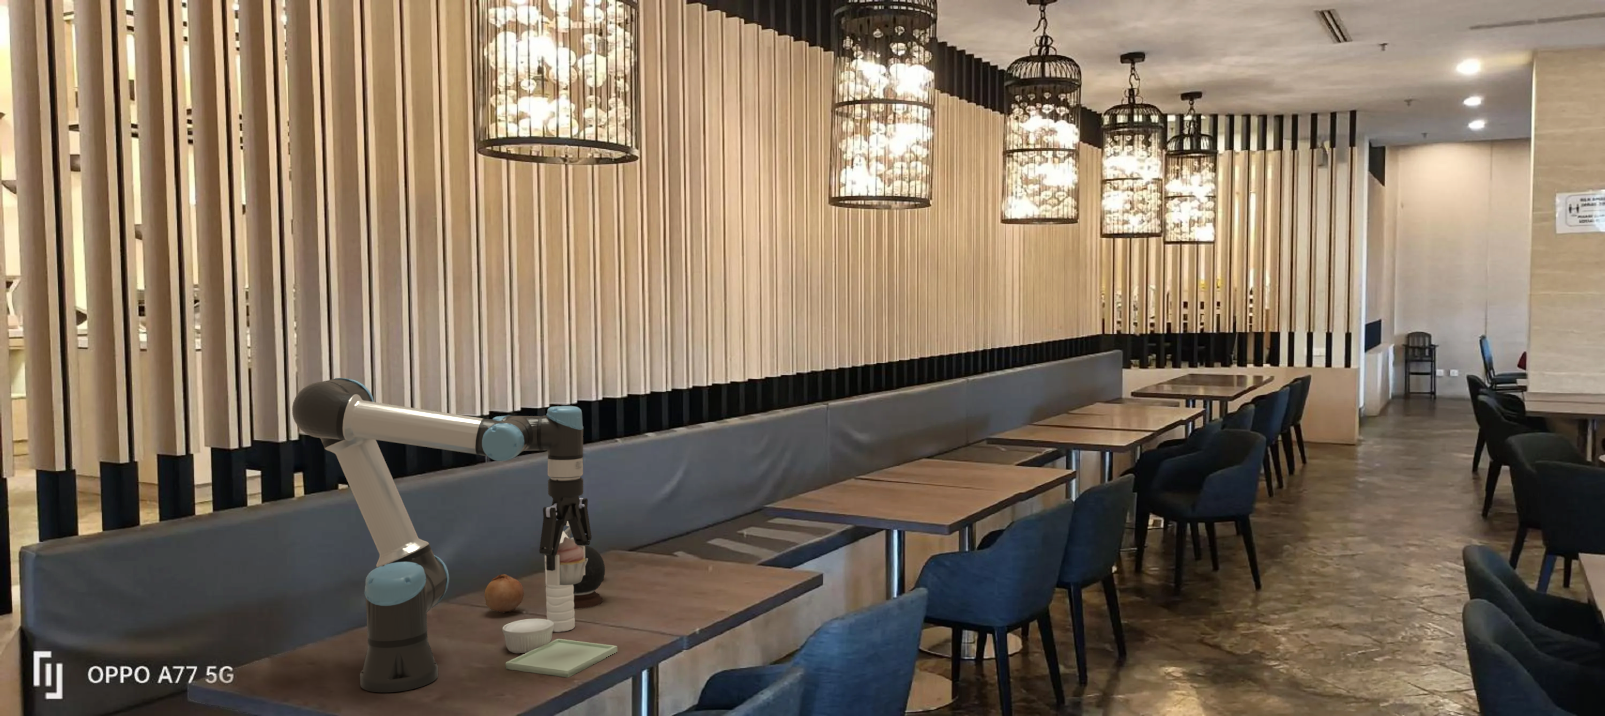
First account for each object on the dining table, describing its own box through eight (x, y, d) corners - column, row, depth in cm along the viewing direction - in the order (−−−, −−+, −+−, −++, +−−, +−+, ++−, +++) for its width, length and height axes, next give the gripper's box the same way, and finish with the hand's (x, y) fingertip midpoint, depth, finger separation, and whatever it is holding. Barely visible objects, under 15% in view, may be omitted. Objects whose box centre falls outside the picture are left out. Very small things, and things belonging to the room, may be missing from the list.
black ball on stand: (602, 594, 302) (600, 538, 301) (609, 606, 290) (607, 547, 289) (551, 599, 298) (549, 542, 297) (557, 611, 286) (555, 552, 285)
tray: (567, 677, 235) (567, 670, 235) (505, 668, 241) (505, 662, 241) (617, 652, 251) (617, 645, 251) (558, 644, 258) (557, 638, 258)
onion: (488, 620, 279) (486, 580, 279) (482, 611, 288) (481, 572, 287) (527, 615, 283) (526, 575, 283) (520, 606, 292) (519, 567, 291)
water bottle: (558, 634, 266) (555, 528, 265) (541, 629, 270) (537, 525, 269) (588, 625, 273) (584, 521, 272) (570, 620, 277) (566, 519, 276)
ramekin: (499, 644, 259) (498, 622, 259) (549, 638, 264) (548, 615, 263) (507, 658, 249) (506, 634, 249) (558, 651, 253) (558, 627, 253)
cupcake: (552, 576, 254) (552, 531, 254) (593, 577, 253) (593, 532, 253) (538, 586, 245) (538, 540, 244) (581, 588, 244) (581, 541, 244)
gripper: (550, 485, 237) (551, 593, 238) (607, 471, 257) (608, 570, 258) (520, 483, 239) (521, 589, 240) (579, 469, 260) (579, 567, 261)
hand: (566, 579), depth 249 cm, fingers closed on cupcake, 9 cm apart
